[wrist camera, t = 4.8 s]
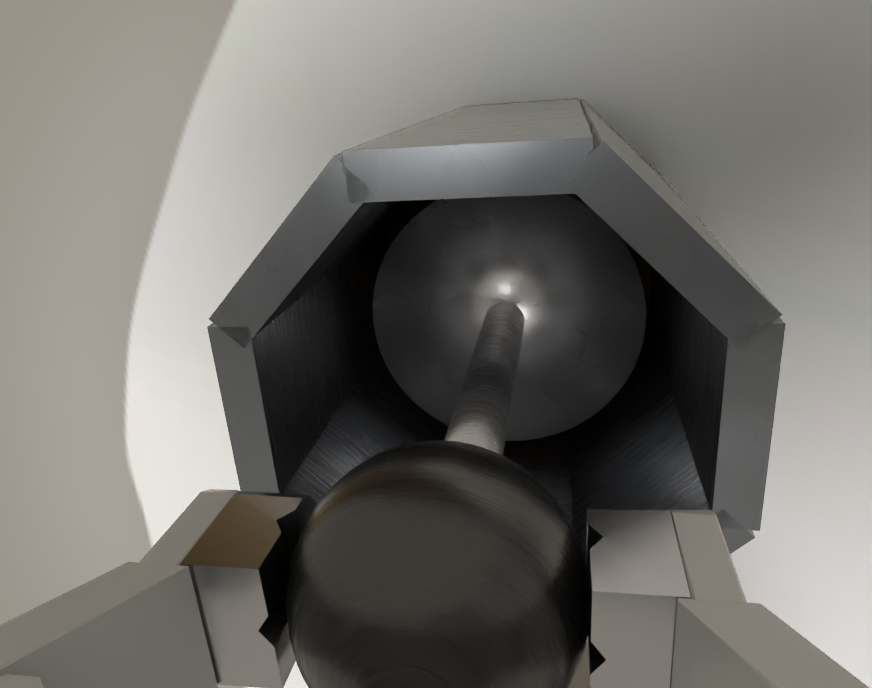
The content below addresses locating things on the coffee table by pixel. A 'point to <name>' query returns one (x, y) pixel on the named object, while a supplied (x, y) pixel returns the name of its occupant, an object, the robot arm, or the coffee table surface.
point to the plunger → (471, 455)
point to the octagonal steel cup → (407, 423)
